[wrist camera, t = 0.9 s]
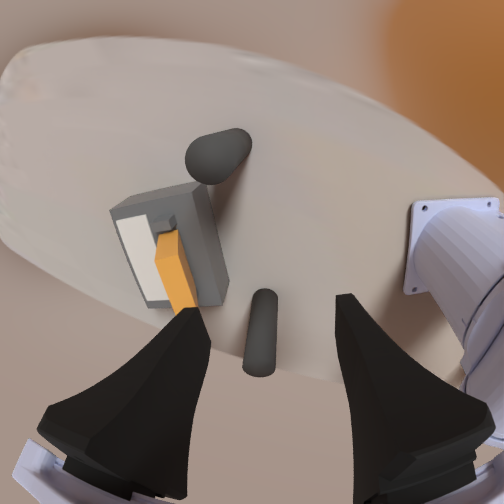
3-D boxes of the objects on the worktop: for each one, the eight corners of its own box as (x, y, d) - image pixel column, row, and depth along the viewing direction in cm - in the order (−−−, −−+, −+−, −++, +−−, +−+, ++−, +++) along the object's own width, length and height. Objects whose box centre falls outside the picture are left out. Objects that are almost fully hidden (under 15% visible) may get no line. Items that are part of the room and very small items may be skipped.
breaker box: (205, 179, 17) (186, 197, 14) (229, 280, 21) (219, 314, 18) (130, 196, 18) (101, 215, 15) (161, 286, 22) (143, 316, 18)
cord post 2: (276, 287, 21) (273, 356, 15) (279, 307, 22) (277, 376, 16) (250, 289, 21) (239, 358, 15) (255, 309, 22) (245, 377, 16)
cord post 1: (249, 125, 16) (229, 130, 9) (254, 156, 16) (239, 180, 10) (217, 131, 16) (180, 141, 10) (223, 161, 17) (191, 188, 11)
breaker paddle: (177, 229, 16) (178, 254, 12) (195, 285, 17) (200, 318, 14) (158, 234, 15) (154, 261, 12) (178, 289, 17) (179, 324, 14)
